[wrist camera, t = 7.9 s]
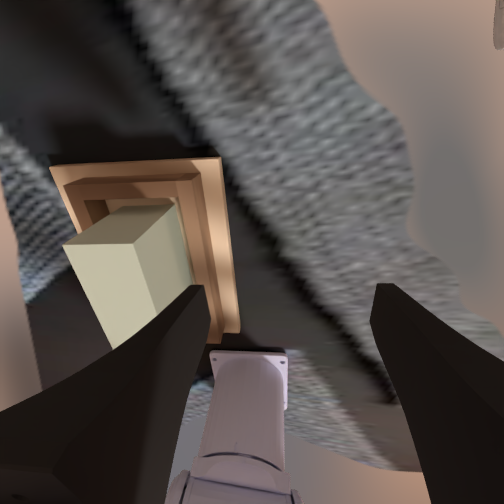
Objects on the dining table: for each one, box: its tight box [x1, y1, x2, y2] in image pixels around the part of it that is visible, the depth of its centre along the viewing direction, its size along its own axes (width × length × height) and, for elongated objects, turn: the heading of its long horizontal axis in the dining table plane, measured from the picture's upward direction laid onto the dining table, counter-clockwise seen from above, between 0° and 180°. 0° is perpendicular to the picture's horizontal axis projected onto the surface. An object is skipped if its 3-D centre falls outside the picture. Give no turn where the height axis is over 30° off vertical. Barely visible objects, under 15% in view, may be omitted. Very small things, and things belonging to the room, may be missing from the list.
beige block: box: [62, 204, 193, 349], centre depth 18 cm, size 4×9×6 cm, turn 4°
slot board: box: [49, 157, 241, 344], centre depth 20 cm, size 16×12×3 cm
